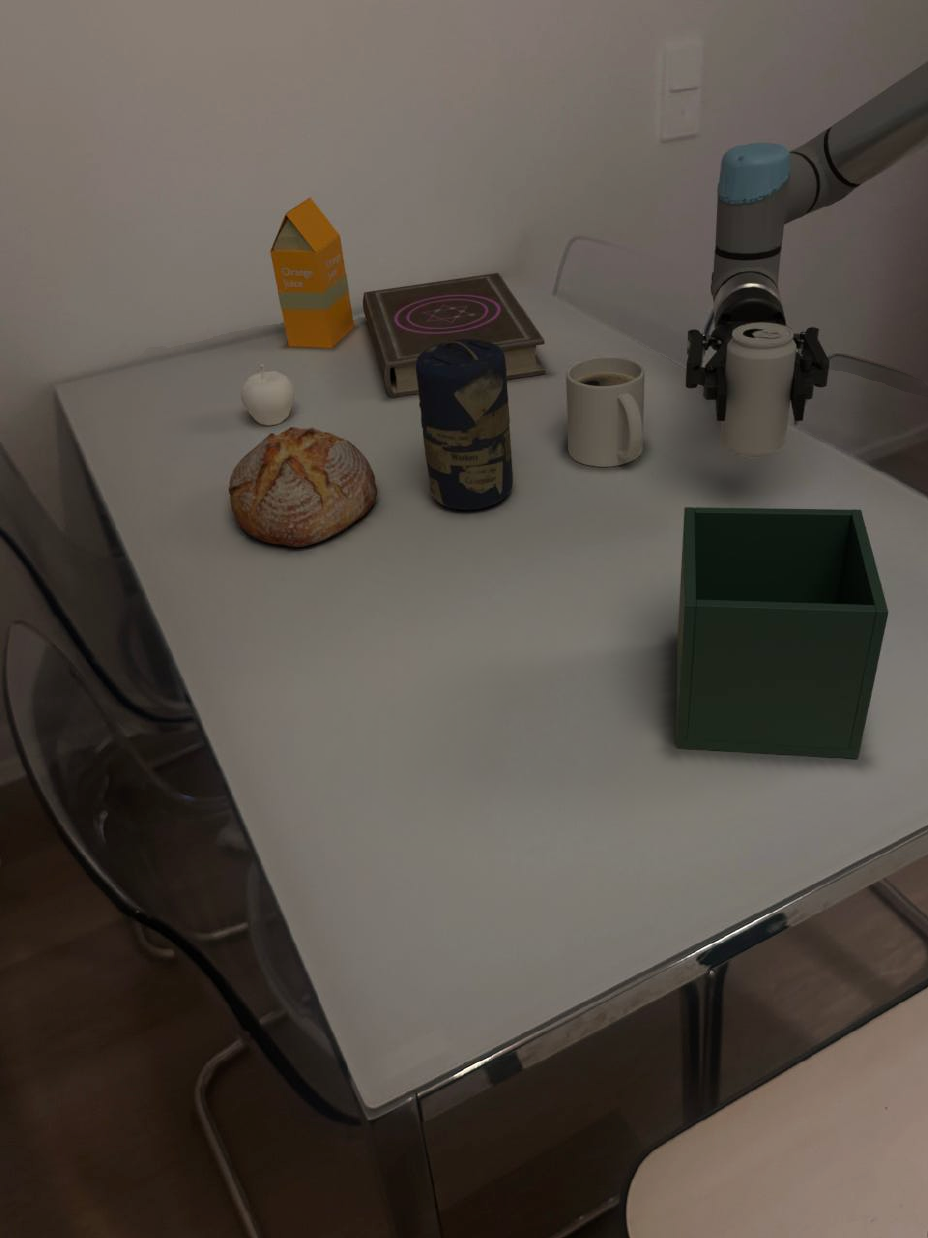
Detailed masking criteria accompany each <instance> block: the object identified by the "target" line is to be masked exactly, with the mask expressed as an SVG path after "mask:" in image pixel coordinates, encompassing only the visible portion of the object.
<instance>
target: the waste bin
mask: <svg viewBox="0 0 928 1238" xmlns="http://www.w3.org/2000/svg"><path fill="white" fill-rule="evenodd" d="M682 528H683V529H682V544H681V545H682V546H681V547H682V548H681V564H680V565H681V567H680V584H679V603H678V604H679V605H678V620H677V621H678V622H677V638H676V639H677V640H676V641H677V642H676V645H677V646H676V648H677V649H676V741H675V742H676V743H675V745H676V749H683V750H699V751H716V752H717V751H719V752H733V753H750V754H751V753H752V754H769V755H784V756H785V755H786V756H787V755H788V756H789V755H790V756H800V757H801V756H803V757H818V758H836V759H837V758H838V759H853V760H858V759H859V756H860V752H861V747H862V742H863V738H864V734H865V728H866V723H867V717H868V713H869V708H870V703H871V699H872V694H873V689H874V684H875V679H876V674H877V670H878V666H879V659H880V655H881V651H882V646H883V641H884V636H885V632H886V625H887V622H888V617H889V607H888V604H887V600H886V597H885V593H884V590H883V586H882V582H881V578H880V575H879V572H878V567H877V564H876V559H875V556H874V553H873V549H872V545H871V541H870V538H869V533H868V531H867V526H866V522H865V519H864V515H863V512H862V509H833V508H773V507H772V508H769V507H768V508H763V507H760V508H759V507H758V508H757V507H703V506H701V507H697V506H695V507H694V506H685V507H684V511H683V527H682Z"/></svg>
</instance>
